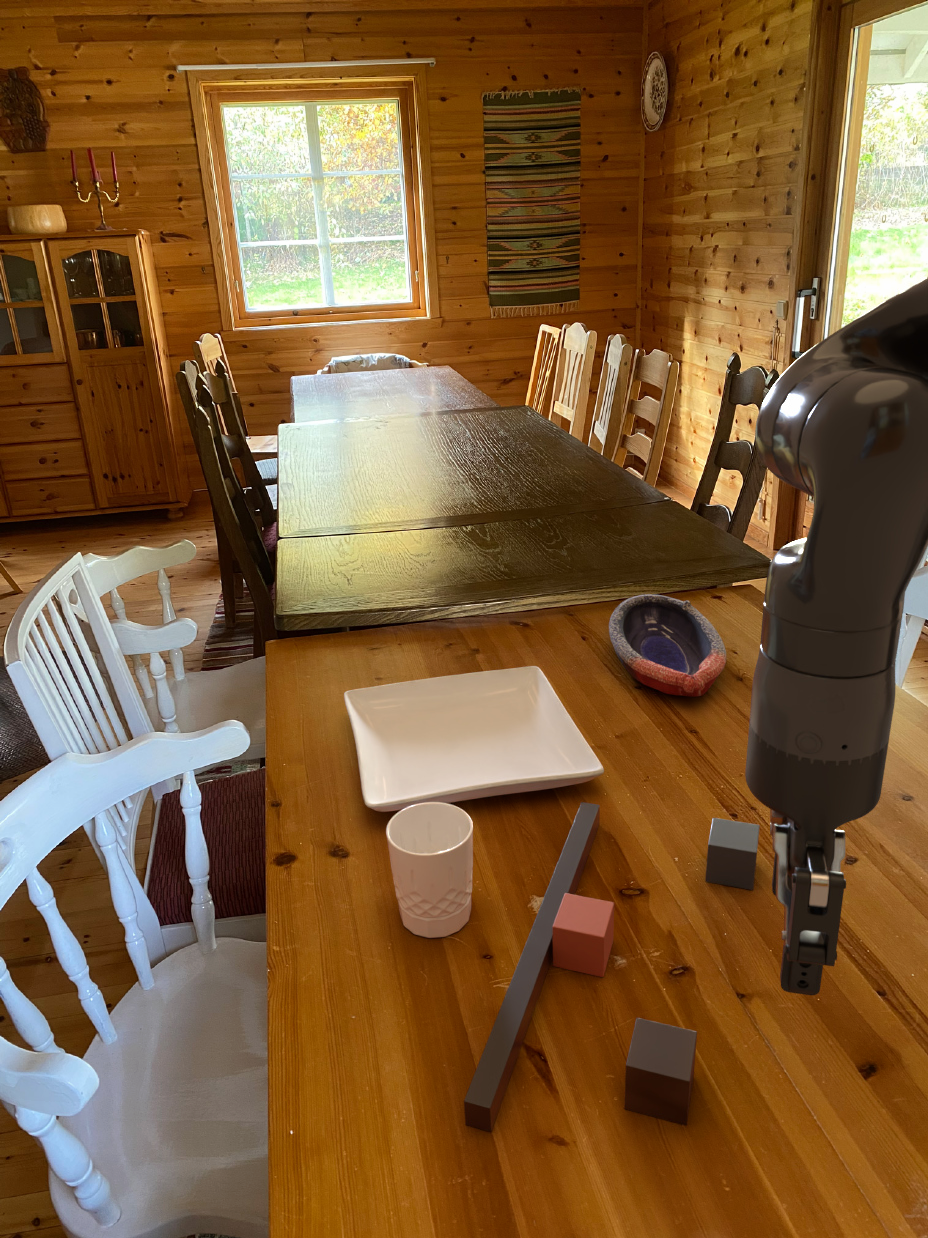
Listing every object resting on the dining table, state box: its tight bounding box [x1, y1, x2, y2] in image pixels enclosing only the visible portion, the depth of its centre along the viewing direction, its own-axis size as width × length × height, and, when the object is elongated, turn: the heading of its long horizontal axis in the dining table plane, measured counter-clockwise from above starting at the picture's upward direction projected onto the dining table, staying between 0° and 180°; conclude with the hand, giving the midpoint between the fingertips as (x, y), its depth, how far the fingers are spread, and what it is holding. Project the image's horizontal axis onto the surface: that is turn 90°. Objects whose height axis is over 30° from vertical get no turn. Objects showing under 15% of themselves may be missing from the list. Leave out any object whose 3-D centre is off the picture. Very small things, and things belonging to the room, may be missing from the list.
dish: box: [608, 593, 727, 697], centre depth 132 cm, size 16×31×5 cm, turn 179°
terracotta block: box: [552, 893, 615, 978], centre depth 81 cm, size 4×4×4 cm
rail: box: [463, 801, 601, 1133], centre depth 82 cm, size 2×38×2 cm, turn 160°
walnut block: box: [623, 1017, 698, 1126], centre depth 68 cm, size 4×4×4 cm
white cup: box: [385, 802, 474, 939], centre depth 85 cm, size 8×8×10 cm
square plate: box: [343, 665, 605, 813], centre depth 112 cm, size 27×27×4 cm
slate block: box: [704, 817, 760, 891], centre depth 90 cm, size 4×4×4 cm
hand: (793, 939), depth 59 cm, fingers open, 8 cm apart
